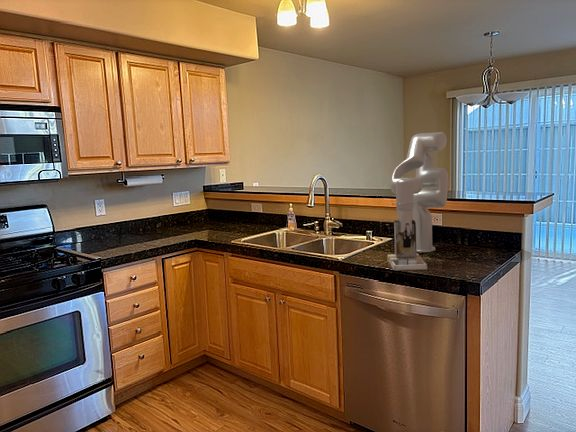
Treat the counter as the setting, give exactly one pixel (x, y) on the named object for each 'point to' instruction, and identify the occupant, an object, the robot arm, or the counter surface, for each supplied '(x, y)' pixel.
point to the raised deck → (393, 257)
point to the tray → (409, 266)
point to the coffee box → (399, 237)
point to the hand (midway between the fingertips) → (405, 245)
